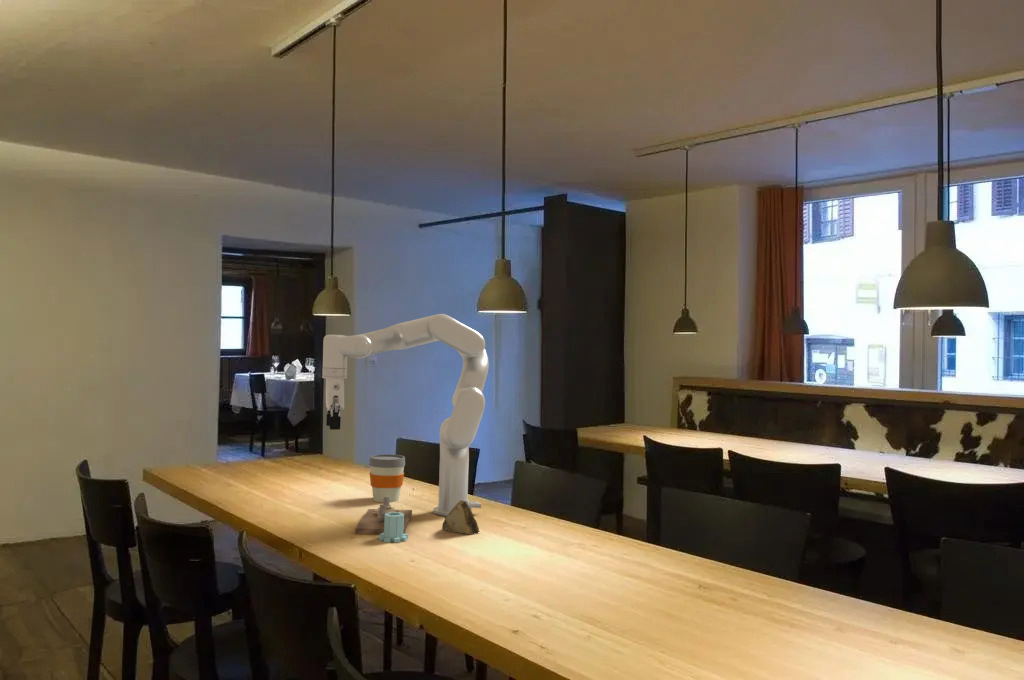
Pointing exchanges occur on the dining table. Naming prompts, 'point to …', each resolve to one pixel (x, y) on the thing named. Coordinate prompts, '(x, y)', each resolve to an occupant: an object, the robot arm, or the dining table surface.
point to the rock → (461, 519)
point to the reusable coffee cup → (386, 476)
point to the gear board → (376, 525)
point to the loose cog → (393, 528)
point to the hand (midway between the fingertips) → (333, 427)
